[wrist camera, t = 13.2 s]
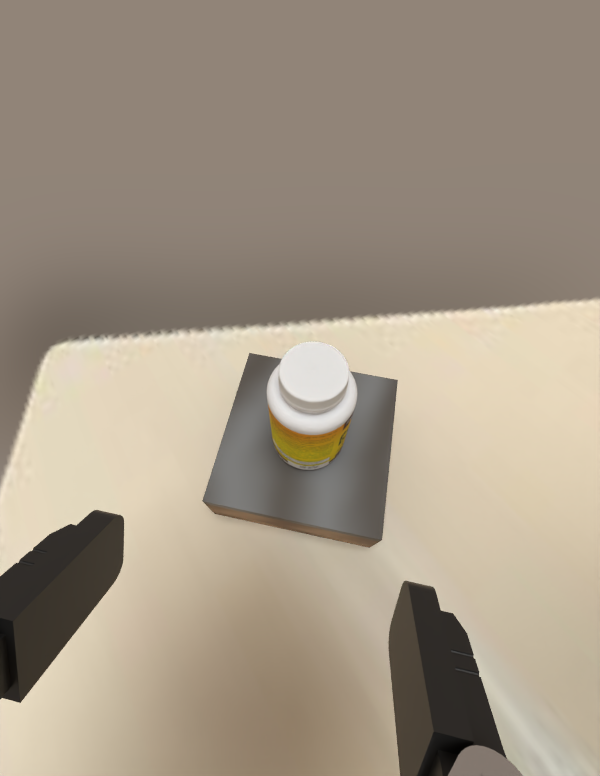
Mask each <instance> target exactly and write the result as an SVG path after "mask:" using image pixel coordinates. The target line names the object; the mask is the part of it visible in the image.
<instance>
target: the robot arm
mask: <svg viewBox="0 0 600 776" xmlns="http://www.w3.org/2000/svg"><path fill="white" fill-rule="evenodd" d="M123 550H124V518H123V517H122V516H121V515H117V514H112V513H108V512H104V511H99V510H94V511H92V512H91V513H90V514H89V515H88V516H87V517H85V518H84V519H83V520H82V521H81V522H80V523H79V524H78V525H77V526H76V525H72V524H70V525H68V526H66V527H64V528H62V529H60V530H58V531H56V532H53V533H51V534H50V535H48V536H47V537H46V538H45V539H44V540H43V541H41V542H40V543H39V544H38V545H37V546H35V547H34V548H33V551H30V552H28V553H27V554H26V555H25V556H24V557H23V558H21V559H20V561H19V563H16V564H14V565H13V566H12V567H11V568H10V569H9V570H7V571H6V572H5V573H4V574H3V575H1V576H0V699H1V698H5V699H9V700H12V701H16V702H20V703H21V701H22V700H23V699H24V698H25V696H26V695H27V694H28V692H29V691H30V690H31V689H32V687H33V686H34V685H35V683H36V682H37V681H38V680H39V678H40V677H41V676H42V674H43V673H44V672H45V671H46V669H47V668H48V667H49V665H50V664H51V663H52V662H53V660H54V659H55V658H56V656H57V655H58V654H59V653H60V651H61V650H62V649H63V647H64V646H65V645H66V644H67V642H68V641H69V640H70V638H71V637H72V636H73V635H74V633H75V632H76V631H77V630H78V628H79V627H80V626H81V624H82V623H83V622H84V621H85V619H86V618H87V617H88V615H89V614H90V613H91V612H92V610H93V609H94V608H95V606H96V605H97V604H98V603H99V601H100V600H101V599H102V597H103V596H104V595H105V594H106V592H107V591H108V590H109V588H110V587H111V586H112V585H113V583H114V582H115V580H116V579H117V577H118V575H119V573H120V570H121V567H122V564H123ZM473 655H474V654H473V651H472V648H471V645H470V642H469V639H468V635H467V633H466V631H465V630H464V629H463V627H462V626H461V624H460V623H459V621H458V620H457V619H456V617H455V616H454V614H453V613H448V612H444V611H441V610H440V607H439V603H438V599H437V595H436V591H435V589H434V588H433V587H431V586H426V585H422V584H417V583H413V582H409V581H404V583H403V585H402V587H401V591H400V594H399V598H398V601H397V604H396V608H395V611H394V615H393V618H392V621H391V626H390V632H389V658H390V669H391V679H392V690H393V701H394V712H395V723H396V734H397V745H398V756H399V766H400V776H522V774H521V773H520V772H519V771H518V770H517V768H516V767H515V766H514V765H513V764H512V763H511V762H510V761H509V760H507V758H506V755H505V753H504V750H503V747H502V744H501V740H500V737H499V734H498V731H497V728H496V725H495V721H494V718H493V715H492V712H491V709H490V705H489V702H488V699H487V696H486V693H485V689H484V686H483V683H482V680H481V677H479V670H478V667H477V664H476V661H475V659H474V658H473Z"/></svg>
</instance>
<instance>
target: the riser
mask: <svg viewBox="0 0 600 776" xmlns="http://www.w3.org/2000/svg"><path fill="white" fill-rule="evenodd" d="M280 362H281V359H279V358H273V357H268V356H262V355H257V354H251V353H249V356H248V359H247V363H246V366H245V369H244V372H243V375H242V378H241V381H240V385H239V388H238V391H237V394H236V397H235V400H234V404H233V407H232V410H231V413H230V416H229V419H228V422H227V426H226V429H225V432H224V435H223V438H222V441H221V444H220V448H219V451H218V454H217V457H216V460H215V463H214V466H213V470H212V473H211V476H210V479H209V482H208V485H207V488H206V492H205V495H204V498H203V502H204V503H205V504H206V505H207V506H208V507H209V508H210V509H211V510H212V511H213V512H214V513H215V514H219V515H224V516H228V517H233V518H237V519H242V520H246V521H251V522H255V523H260V524H265V525H269V526H274V527H278V528H283V529H287V530H292V531H297V532H301V533H306V534H310V535H315V536H319V537H324V538H328V539H333V540H338V541H342V542H347V543H351V544H356V545H360V546H365V547H371V546H373V545H374V544H376V543H378V542H379V541H381V540H382V533H383V523H384V513H385V503H386V493H387V482H388V472H389V462H390V452H391V442H392V432H393V422H394V411H395V401H396V391H397V381H398V380H394V379H388V378H383V377H378V376H372V375H367V374H361V373H356V372H351V373H352V375H353V377H354V379H355V382H356V386H357V402H356V406H355V409H354V412H353V416H352V418H351V422H350V425H349V428H348V431H347V434H346V437H345V441H344V444H343V446H342V449H341V451H340V453H339V454H338V456H337V457H336V458H335V459H334V460H333V461H332V462H331V463H329V464H328V465H326V466H324V467H322V468H319V469H314V470H303V469H299V468H296V467H293V466H291V465H289V464H288V463H286V462H285V461H284V460H283V459H282V458H281V457H280V456H279V454H278V453H277V451H276V449H275V447H274V444H273V439H272V431H271V424H270V416H269V408H268V401H267V385H268V381H269V378H270V376H271V374H272V372H273V371H274V369H275V368H276V367H277V366H278V365H279V364H280Z"/></svg>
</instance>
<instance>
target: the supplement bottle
mask: <svg viewBox="0 0 600 776" xmlns="http://www.w3.org/2000/svg"><path fill="white" fill-rule="evenodd" d="M267 401H268V408H269V416H270V424H271V431H272V439H273V444H274V447H275V449H276V451H277V453H278V454H279V456H280V457H281V458H282V459H283V460H284V461H285V462H286V463H288V464H289V465H291V466H293V467H296V468H299V469H303V470H314V469H319V468H322V467H324V466H326V465H328V464H329V463H331V462H332V461H333V460H334V459H335V458H336V457H337V456H338V454H339V453H340V451H341V449H342V446H343V444H344V441H345V437H346V434H347V431H348V428H349V425H350V422H351V418H352V416H353V412H354V409H355V406H356V402H357V386H356V382H355V379H354V377H353V375H352V373H351V372H350V371H349V366H348V363H347V361H346V359H345V357H344V356H343V354H342V353H341V352H340V351H339V350H337V349H336V348H335V347H333V346H331V345H329V344H326V343H323V342H317V341H310V342H304V343H301V344H298V345H296V346H294V347H292V348H291V349H289V350H288V351H287V352H286V353H285V355H284V356H283V358H282V359H281V362H280V364H279V365H278V366H277V367H276V368H275V369H274V371H273V372H272V374H271V376H270V378H269V381H268V385H267Z"/></svg>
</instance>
